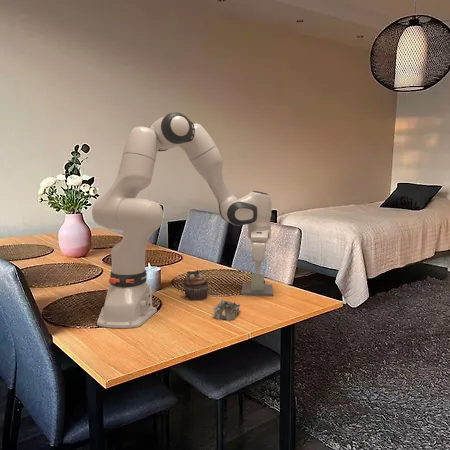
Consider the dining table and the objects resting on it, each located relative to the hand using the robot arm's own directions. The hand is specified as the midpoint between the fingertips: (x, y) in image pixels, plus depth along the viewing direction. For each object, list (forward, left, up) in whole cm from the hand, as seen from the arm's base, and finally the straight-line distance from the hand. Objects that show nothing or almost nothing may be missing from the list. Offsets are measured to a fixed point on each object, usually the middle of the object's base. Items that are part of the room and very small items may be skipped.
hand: (257, 268), depth 179 cm
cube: (+1, 0, -8) cm, 8 cm away
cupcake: (-9, +23, -10) cm, 27 cm away
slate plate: (+1, 0, -9) cm, 9 cm away
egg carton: (-26, +11, -10) cm, 30 cm away
